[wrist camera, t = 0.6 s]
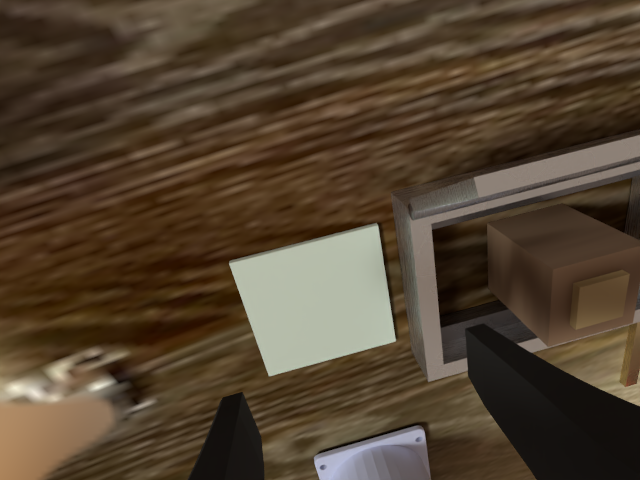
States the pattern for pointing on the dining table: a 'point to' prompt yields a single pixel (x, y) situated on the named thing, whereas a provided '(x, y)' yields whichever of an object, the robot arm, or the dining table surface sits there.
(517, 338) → the aluminium case
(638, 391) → the dining table surface
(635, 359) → the brass bar
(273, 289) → the green rubber mat
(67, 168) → the dining table surface
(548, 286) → the walnut block
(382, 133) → the dining table surface
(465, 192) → the propped lid
